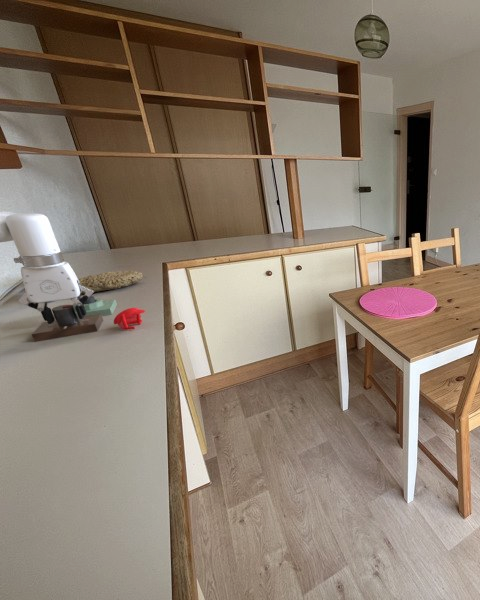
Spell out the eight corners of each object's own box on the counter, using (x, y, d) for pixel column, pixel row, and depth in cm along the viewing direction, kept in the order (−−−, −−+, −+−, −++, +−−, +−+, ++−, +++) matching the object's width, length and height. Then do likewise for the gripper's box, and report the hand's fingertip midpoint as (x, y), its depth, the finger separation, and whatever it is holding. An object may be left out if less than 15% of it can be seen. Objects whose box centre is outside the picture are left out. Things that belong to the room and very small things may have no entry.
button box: (62, 322, 98) (57, 310, 97) (70, 311, 106) (66, 300, 105) (112, 314, 104) (108, 303, 103) (116, 304, 112) (113, 294, 111)
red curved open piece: (115, 334, 92) (109, 315, 90) (116, 326, 96) (110, 309, 94) (149, 327, 97) (144, 309, 94) (149, 320, 101) (144, 303, 99)
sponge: (79, 300, 118) (141, 282, 127) (67, 281, 116) (131, 264, 125) (90, 296, 129) (147, 279, 138) (79, 278, 127) (137, 262, 136)
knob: (56, 327, 90) (48, 310, 88) (60, 321, 93) (53, 305, 91) (76, 324, 92) (70, 307, 90) (80, 318, 95) (74, 302, 93)
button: (78, 306, 101) (76, 301, 101) (81, 302, 104) (79, 297, 104) (94, 303, 103) (92, 299, 103) (97, 300, 107) (95, 295, 106)
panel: (35, 342, 87) (31, 333, 86) (46, 329, 94) (42, 321, 93) (97, 331, 93) (94, 323, 92) (103, 320, 100) (100, 312, 99)
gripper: (-11, 267, 78) (19, 331, 85) (83, 259, 87) (103, 318, 94) (2, 260, 84) (30, 321, 91) (89, 254, 93) (108, 309, 99)
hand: (67, 319), depth 92 cm, fingers open, 5 cm apart
